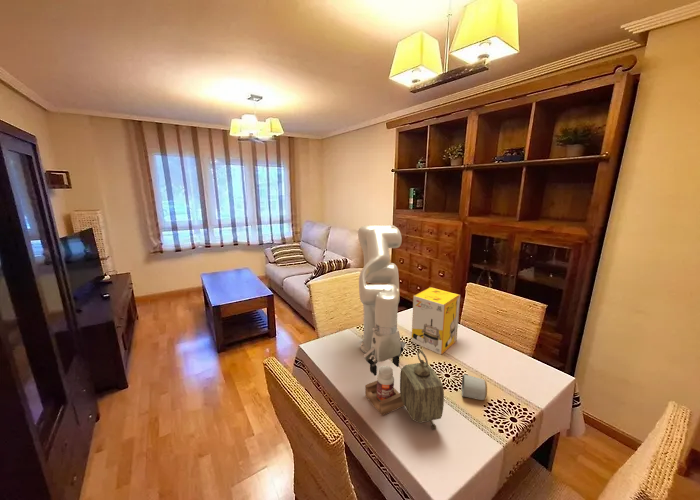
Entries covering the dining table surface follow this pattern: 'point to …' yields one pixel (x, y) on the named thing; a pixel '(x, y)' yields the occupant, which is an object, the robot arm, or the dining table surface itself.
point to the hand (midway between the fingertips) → (384, 368)
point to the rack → (384, 405)
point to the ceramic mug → (474, 387)
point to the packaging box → (435, 319)
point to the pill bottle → (385, 383)
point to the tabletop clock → (422, 391)
